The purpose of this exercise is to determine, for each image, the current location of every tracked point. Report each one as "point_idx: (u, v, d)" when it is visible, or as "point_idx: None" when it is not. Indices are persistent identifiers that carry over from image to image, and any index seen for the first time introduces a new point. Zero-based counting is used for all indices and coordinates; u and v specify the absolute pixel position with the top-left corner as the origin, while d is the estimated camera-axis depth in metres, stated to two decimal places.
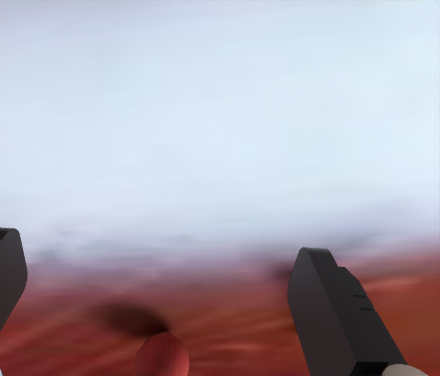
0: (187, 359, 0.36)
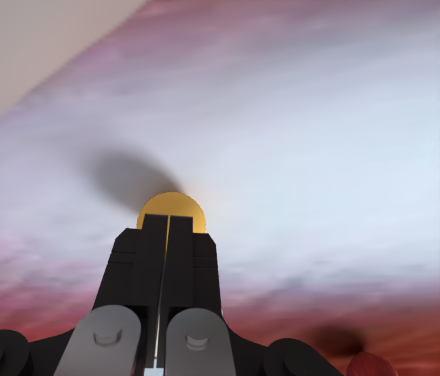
0: None
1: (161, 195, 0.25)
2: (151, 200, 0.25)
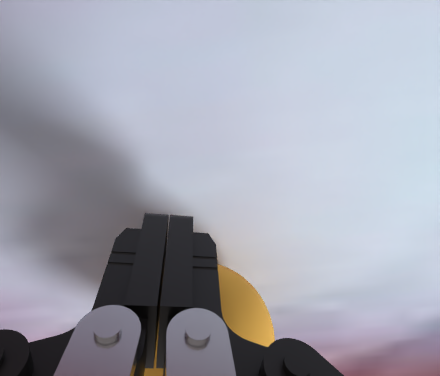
0: None
1: None
2: None
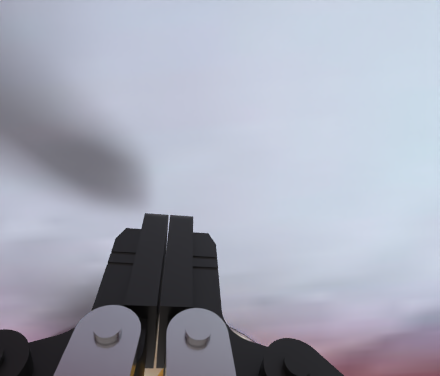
0: None
1: None
2: None
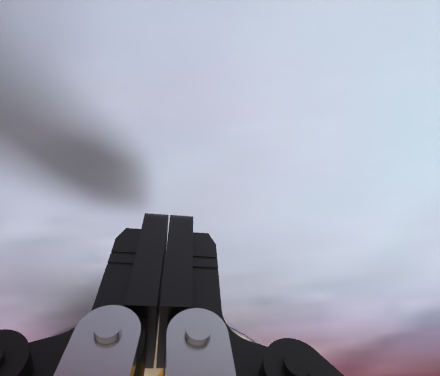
0: None
1: None
2: None
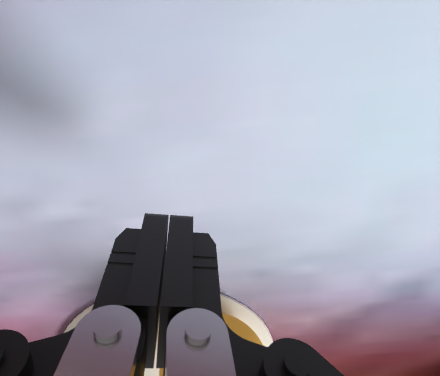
0: None
1: None
2: None
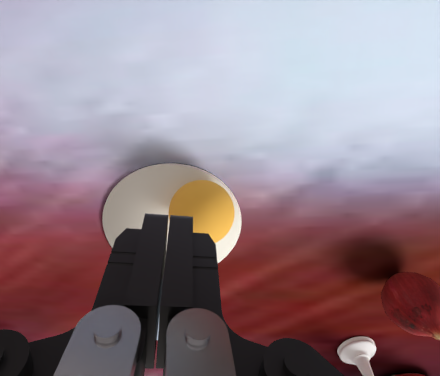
0: None
1: None
2: None
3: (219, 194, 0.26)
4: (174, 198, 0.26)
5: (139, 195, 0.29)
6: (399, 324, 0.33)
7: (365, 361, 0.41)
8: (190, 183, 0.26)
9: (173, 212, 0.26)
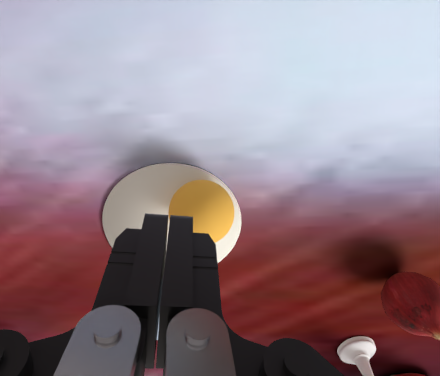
0: None
1: None
2: None
3: (219, 193, 0.26)
4: (174, 198, 0.26)
5: (139, 195, 0.29)
6: (399, 324, 0.33)
7: (365, 361, 0.41)
8: (190, 183, 0.26)
9: (173, 212, 0.26)
